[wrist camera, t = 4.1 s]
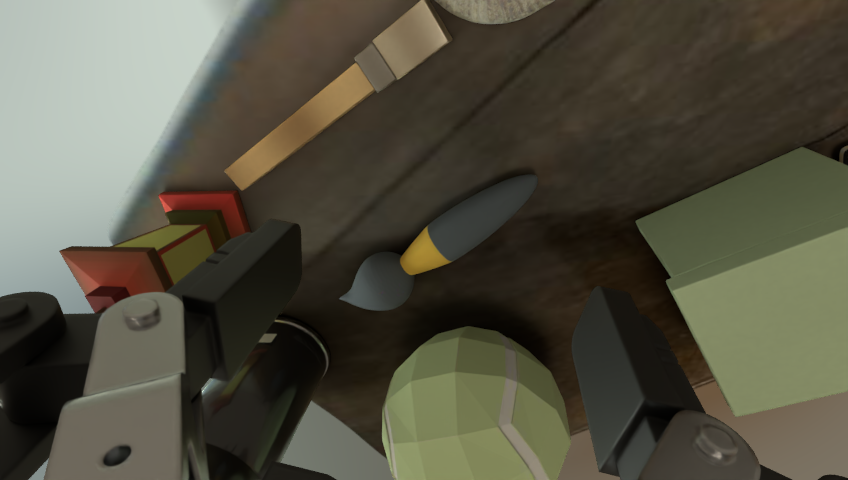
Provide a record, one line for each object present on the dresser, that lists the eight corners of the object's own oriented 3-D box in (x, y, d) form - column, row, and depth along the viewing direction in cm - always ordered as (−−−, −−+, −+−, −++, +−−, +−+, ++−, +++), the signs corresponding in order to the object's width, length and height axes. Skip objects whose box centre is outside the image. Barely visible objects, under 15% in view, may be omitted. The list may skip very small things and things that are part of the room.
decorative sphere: (523, 278, 35) (538, 429, 22) (572, 393, 41) (607, 567, 28) (379, 319, 40) (322, 462, 27) (440, 416, 46) (417, 573, 33)
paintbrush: (504, 135, 29) (505, 155, 25) (545, 183, 30) (553, 210, 26) (340, 273, 38) (320, 306, 34) (378, 306, 39) (363, 342, 35)
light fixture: (163, 191, 37) (-642, 604, 11) (237, 190, 35) (-481, 659, 9) (192, 261, 40) (-357, 697, 14) (261, 263, 39) (-211, 746, 13)
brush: (264, 182, 34) (245, 195, 32) (241, 155, 34) (220, 166, 31) (453, 39, 27) (448, 41, 24) (429, 0, 26) (422, -2, 23)
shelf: (682, 329, 35) (735, 417, 27) (628, 223, 31) (672, 291, 23) (850, 274, 30) (973, 363, 22) (810, 142, 26) (942, 192, 18)
